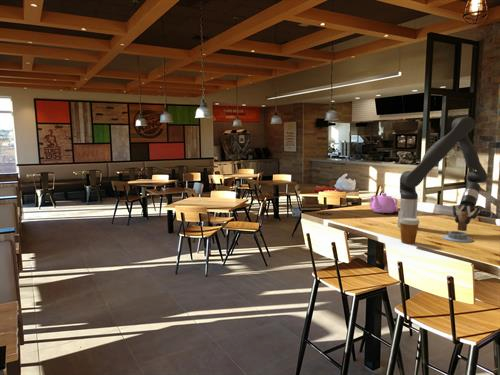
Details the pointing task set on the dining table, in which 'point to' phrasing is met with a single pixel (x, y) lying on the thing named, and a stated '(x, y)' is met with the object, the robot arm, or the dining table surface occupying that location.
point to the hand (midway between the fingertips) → (461, 222)
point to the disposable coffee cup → (408, 229)
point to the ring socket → (457, 237)
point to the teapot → (383, 204)
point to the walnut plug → (462, 221)
